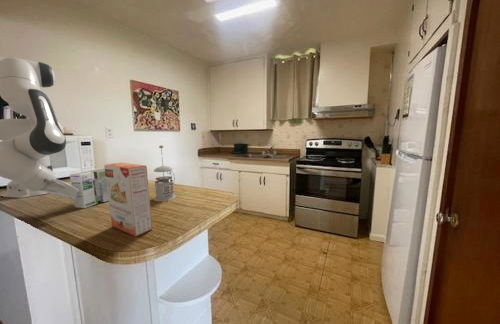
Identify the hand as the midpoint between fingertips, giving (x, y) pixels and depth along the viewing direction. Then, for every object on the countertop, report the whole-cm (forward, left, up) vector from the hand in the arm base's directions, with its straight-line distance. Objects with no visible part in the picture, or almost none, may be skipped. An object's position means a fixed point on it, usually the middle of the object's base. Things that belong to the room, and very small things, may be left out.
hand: (74, 197), depth 84 cm
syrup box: (+2, +3, -5) cm, 6 cm away
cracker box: (+34, -19, -5) cm, 40 cm away
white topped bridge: (+5, +15, -5) cm, 16 cm away
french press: (+32, +14, -5) cm, 35 cm away
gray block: (+4, +10, -4) cm, 11 cm away
